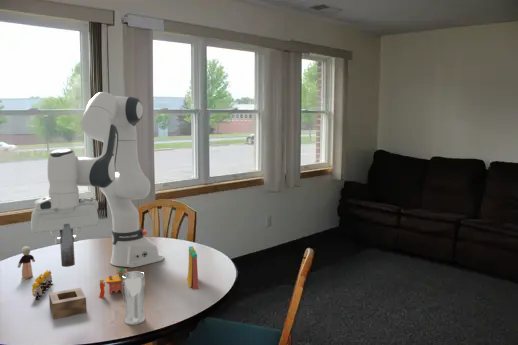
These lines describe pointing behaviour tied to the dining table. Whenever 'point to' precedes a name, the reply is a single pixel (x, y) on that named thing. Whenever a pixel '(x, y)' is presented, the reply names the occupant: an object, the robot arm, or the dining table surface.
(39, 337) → the dining table surface
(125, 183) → the robot arm
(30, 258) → the grandmother figurine
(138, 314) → the beer glass
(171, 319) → the dining table surface
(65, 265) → the metal peg
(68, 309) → the wooden block with hole
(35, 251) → the dining table surface
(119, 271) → the toy building block set
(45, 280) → the figurine set
